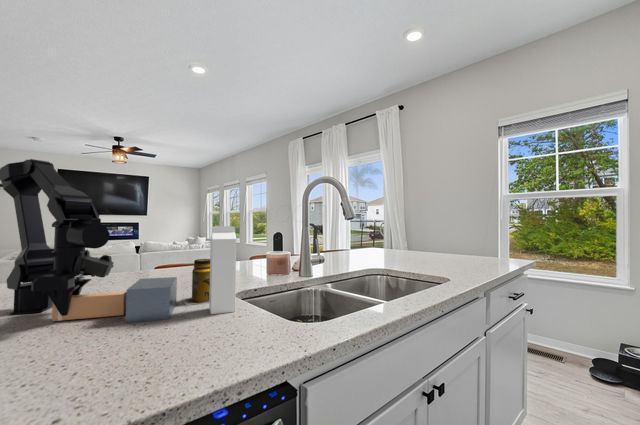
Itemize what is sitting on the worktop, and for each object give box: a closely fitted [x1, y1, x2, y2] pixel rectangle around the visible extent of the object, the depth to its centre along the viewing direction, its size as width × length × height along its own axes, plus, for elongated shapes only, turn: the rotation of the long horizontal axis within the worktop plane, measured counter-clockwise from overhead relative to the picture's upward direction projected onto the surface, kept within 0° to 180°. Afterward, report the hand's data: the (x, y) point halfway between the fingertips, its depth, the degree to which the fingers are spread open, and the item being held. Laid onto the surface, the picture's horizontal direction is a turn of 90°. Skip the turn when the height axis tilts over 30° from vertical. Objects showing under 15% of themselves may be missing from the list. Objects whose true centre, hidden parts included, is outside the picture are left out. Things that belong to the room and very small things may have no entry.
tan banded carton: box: [51, 291, 127, 322], centre depth 73 cm, size 14×3×5 cm, turn 110°
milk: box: [208, 225, 237, 315], centre depth 80 cm, size 6×6×22 cm
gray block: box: [125, 276, 178, 324], centre depth 77 cm, size 10×14×8 cm
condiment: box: [181, 258, 210, 306], centre depth 89 cm, size 7×8×12 cm
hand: (67, 313), depth 71 cm, fingers closed on tan banded carton, 3 cm apart
